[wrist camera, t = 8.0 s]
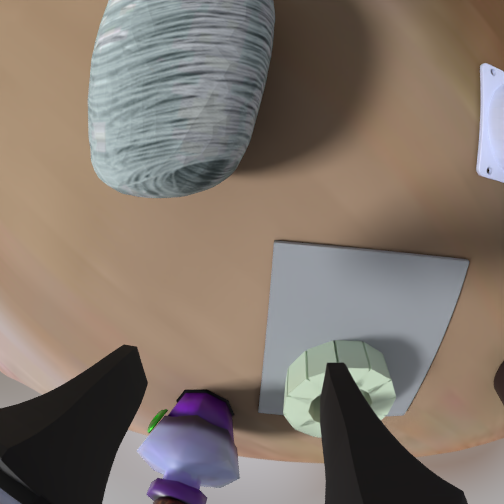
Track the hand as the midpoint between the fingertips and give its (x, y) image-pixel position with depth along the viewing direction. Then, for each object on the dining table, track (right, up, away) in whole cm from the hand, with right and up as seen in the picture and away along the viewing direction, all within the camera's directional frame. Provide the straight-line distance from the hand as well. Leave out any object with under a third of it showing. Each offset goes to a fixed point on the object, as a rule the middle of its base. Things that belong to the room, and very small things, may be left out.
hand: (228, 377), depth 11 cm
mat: (+9, -3, +11) cm, 14 cm away
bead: (+8, -6, +11) cm, 15 cm away
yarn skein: (-2, +15, +5) cm, 16 cm away
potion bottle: (-3, -10, +15) cm, 19 cm away
